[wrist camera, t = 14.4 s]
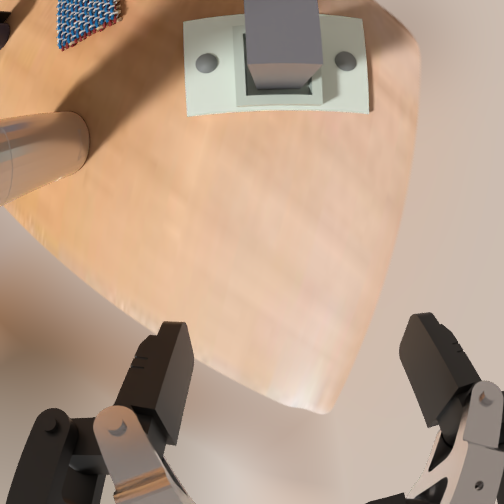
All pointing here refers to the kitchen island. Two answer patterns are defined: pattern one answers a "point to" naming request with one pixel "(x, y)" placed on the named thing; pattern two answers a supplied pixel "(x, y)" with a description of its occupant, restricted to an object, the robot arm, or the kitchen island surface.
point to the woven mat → (84, 19)
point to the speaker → (4, 28)
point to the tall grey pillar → (282, 42)
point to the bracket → (250, 99)
